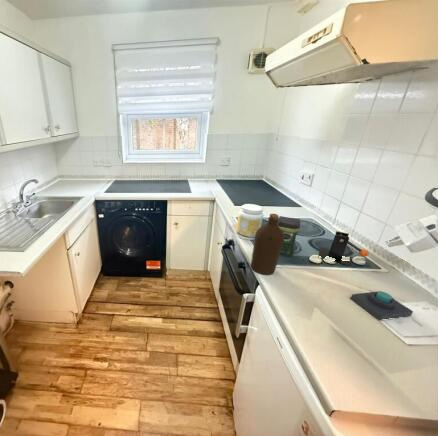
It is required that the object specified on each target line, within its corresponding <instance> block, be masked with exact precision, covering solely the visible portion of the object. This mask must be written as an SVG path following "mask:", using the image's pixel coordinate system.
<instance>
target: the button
mask: <svg viewBox="0 0 438 436" xmlns="http://www.w3.org/2000/svg"><path fill="white" fill-rule="evenodd" d="M379 291H380V292H378V293H377V295H376V298H377V299H379V300H381V301H383V302H387V303H390V302H391V300H392V298H393V295H391V294H389V293H387V292H385V291H382V292H381V290H379Z"/></svg>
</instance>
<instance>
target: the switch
mask: <svg viewBox="0 0 438 436" xmlns="http://www.w3.org/2000/svg"><path fill="white" fill-rule="evenodd" d="M339 235H342V236H344V235H343V234H341V233H340V234H339ZM347 246H350V248H351V247H352V248H353V249H354V250H355V251H357V252H358V255H359V256H360V257H362V258H366V257H368V256H370V255H369V254H370V252H369V251H368V249H361V247H359V246H357V245H355V244H354V243H353V242H351V241H350V240H348V243H347Z"/></svg>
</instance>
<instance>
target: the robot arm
mask: <svg viewBox="0 0 438 436" xmlns="http://www.w3.org/2000/svg"><path fill="white" fill-rule="evenodd" d="M424 201H425V203H426V205H427V206H428V208H429V207H431V208H433V209H436V210H438V188H435V187H433V188H431V189H429V190H428V191H427V192H426V193H425V194H424ZM393 229H394V231H395V232H396V234H397V235H394V236H393V237H391V238H390V239H386V240H385V244H386V245H387V247H388V248H392V247H397V246H403V245H404V246H405V247H406V248H407V250H408V251H409V252H410V253H421V252H424V251H427V250H430V249H434V248H436V247H438V213H436V214H433V213H432V214H431V215H428V216H425V217H423V218H421V219H418V220H417V219H414V220H409V221H407V222H403V223H400V224H397V225H396V226H394V227H393Z"/></svg>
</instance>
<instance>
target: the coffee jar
mask: <svg viewBox="0 0 438 436" xmlns="http://www.w3.org/2000/svg"><path fill="white" fill-rule="evenodd" d="M277 225H278V226H279V228H280V229H281V230H282V232H283V234H284V243H283V246H282V249H281V252H280V255H279V257H285V258H292V257H293V256H294V252H295V246H296V245H295V244H296V238H297V234H298V233H299V231H300V229H301V219H300V218H295V217H288V216H282V215H280V216H279V217H278V223H277Z"/></svg>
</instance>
